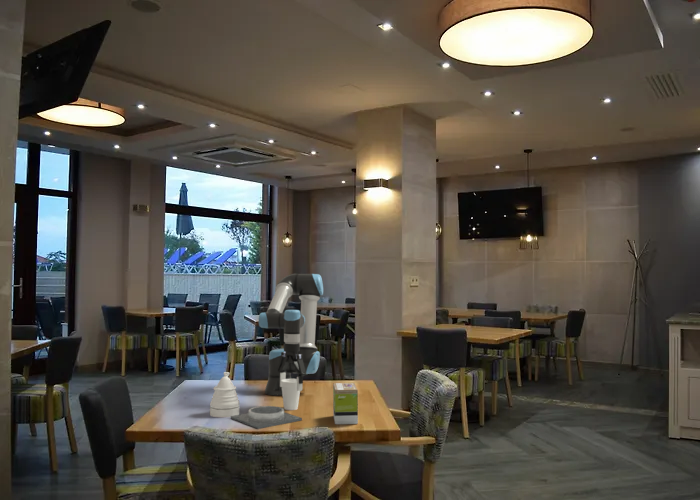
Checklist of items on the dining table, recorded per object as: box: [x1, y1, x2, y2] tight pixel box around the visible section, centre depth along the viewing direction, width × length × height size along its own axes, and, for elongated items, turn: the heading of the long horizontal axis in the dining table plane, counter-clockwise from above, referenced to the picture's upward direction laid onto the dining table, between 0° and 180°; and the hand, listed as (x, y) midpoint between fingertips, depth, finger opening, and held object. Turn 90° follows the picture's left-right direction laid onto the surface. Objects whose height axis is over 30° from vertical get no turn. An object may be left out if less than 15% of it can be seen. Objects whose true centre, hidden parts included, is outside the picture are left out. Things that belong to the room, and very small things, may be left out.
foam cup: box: [281, 378, 301, 411], centre depth 266 cm, size 10×9×13 cm
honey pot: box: [209, 371, 240, 418], centre depth 255 cm, size 13×13×18 cm
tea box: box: [332, 382, 359, 425], centre depth 246 cm, size 15×10×15 cm, turn 5°
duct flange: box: [230, 405, 303, 430], centre depth 245 cm, size 22×22×4 cm
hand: (290, 388), depth 266 cm, fingers open, 13 cm apart
